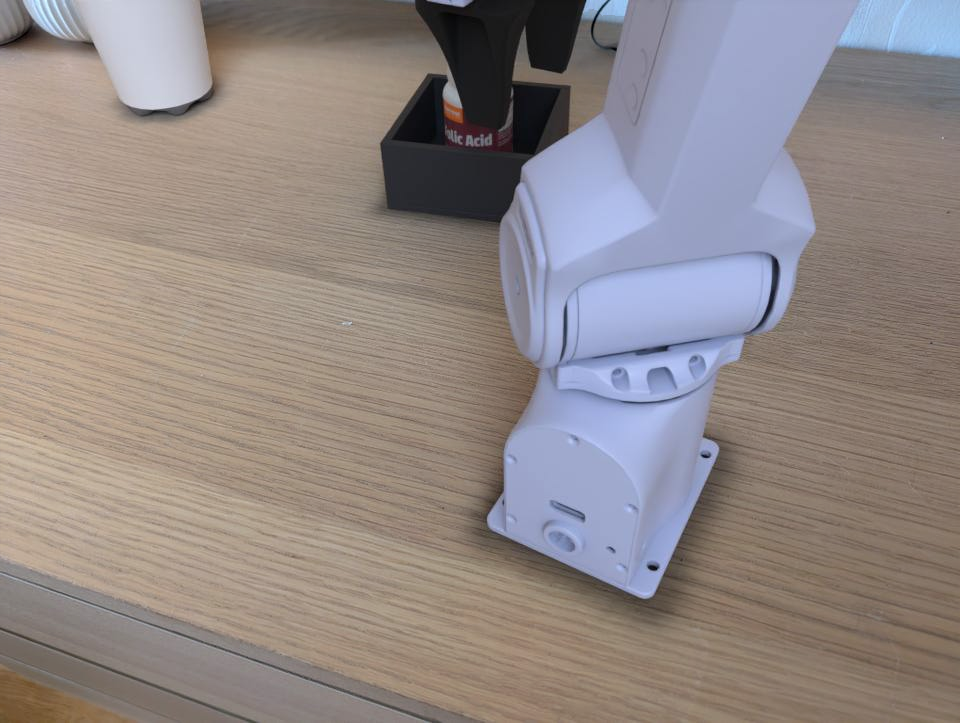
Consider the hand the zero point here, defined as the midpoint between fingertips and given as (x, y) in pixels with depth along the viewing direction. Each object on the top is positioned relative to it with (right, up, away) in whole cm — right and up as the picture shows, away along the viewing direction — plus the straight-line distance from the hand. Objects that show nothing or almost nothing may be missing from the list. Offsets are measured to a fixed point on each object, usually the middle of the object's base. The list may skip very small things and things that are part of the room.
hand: (518, 95), depth 46 cm
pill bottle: (-2, -1, +13) cm, 13 cm away
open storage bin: (-2, -2, +13) cm, 14 cm away
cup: (-29, +7, +24) cm, 38 cm away
